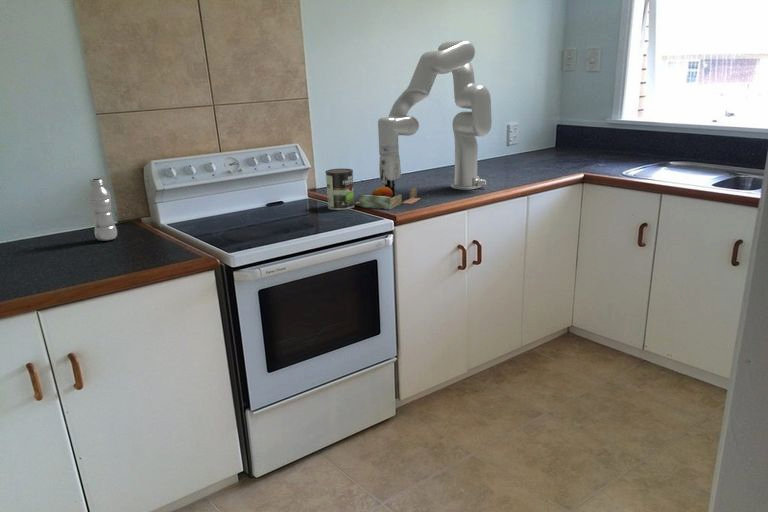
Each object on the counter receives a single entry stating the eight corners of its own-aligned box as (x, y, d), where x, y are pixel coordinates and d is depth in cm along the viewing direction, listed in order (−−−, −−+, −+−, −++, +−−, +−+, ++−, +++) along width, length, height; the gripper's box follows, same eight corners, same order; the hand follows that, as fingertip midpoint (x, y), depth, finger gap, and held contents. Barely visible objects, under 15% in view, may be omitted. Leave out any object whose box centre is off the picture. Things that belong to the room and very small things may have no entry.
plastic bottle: (100, 237, 195) (89, 178, 188) (121, 236, 195) (110, 177, 189) (93, 243, 188) (80, 181, 182) (114, 242, 189) (103, 180, 183)
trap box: (416, 196, 239) (416, 185, 237) (390, 209, 218) (389, 197, 217) (388, 193, 244) (388, 183, 243) (359, 206, 224) (359, 195, 223)
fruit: (379, 204, 220) (374, 184, 221) (372, 211, 227) (367, 192, 228) (398, 202, 223) (393, 182, 224) (391, 208, 230) (386, 189, 232)
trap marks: (420, 199, 233) (420, 198, 232) (403, 208, 219) (403, 207, 219) (374, 195, 242) (374, 194, 242) (354, 204, 229) (354, 203, 229)
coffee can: (359, 205, 226) (358, 169, 222) (344, 211, 218) (342, 173, 214) (338, 203, 232) (336, 167, 227) (322, 208, 223) (319, 171, 219)
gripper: (388, 153, 218) (390, 201, 224) (406, 147, 231) (407, 193, 236) (370, 152, 222) (373, 200, 227) (389, 147, 234) (390, 192, 240)
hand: (390, 196), depth 232 cm, fingers closed
